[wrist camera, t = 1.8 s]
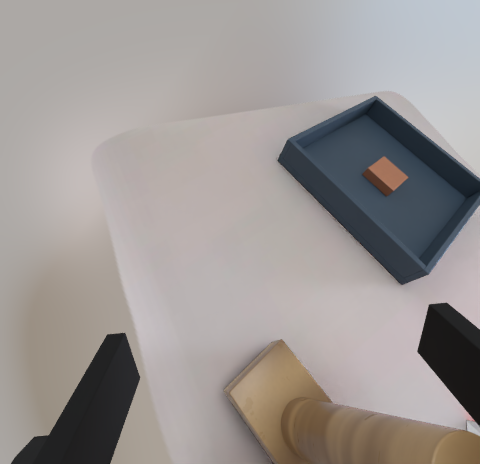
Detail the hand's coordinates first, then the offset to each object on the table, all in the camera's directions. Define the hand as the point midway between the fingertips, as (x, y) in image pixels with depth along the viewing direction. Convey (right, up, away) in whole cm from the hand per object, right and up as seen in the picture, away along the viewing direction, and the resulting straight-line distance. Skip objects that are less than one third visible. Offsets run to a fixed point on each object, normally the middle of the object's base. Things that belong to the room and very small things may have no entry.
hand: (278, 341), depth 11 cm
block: (+16, +12, +21) cm, 29 cm away
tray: (+16, +11, +22) cm, 29 cm away
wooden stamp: (+2, -9, +7) cm, 11 cm away
